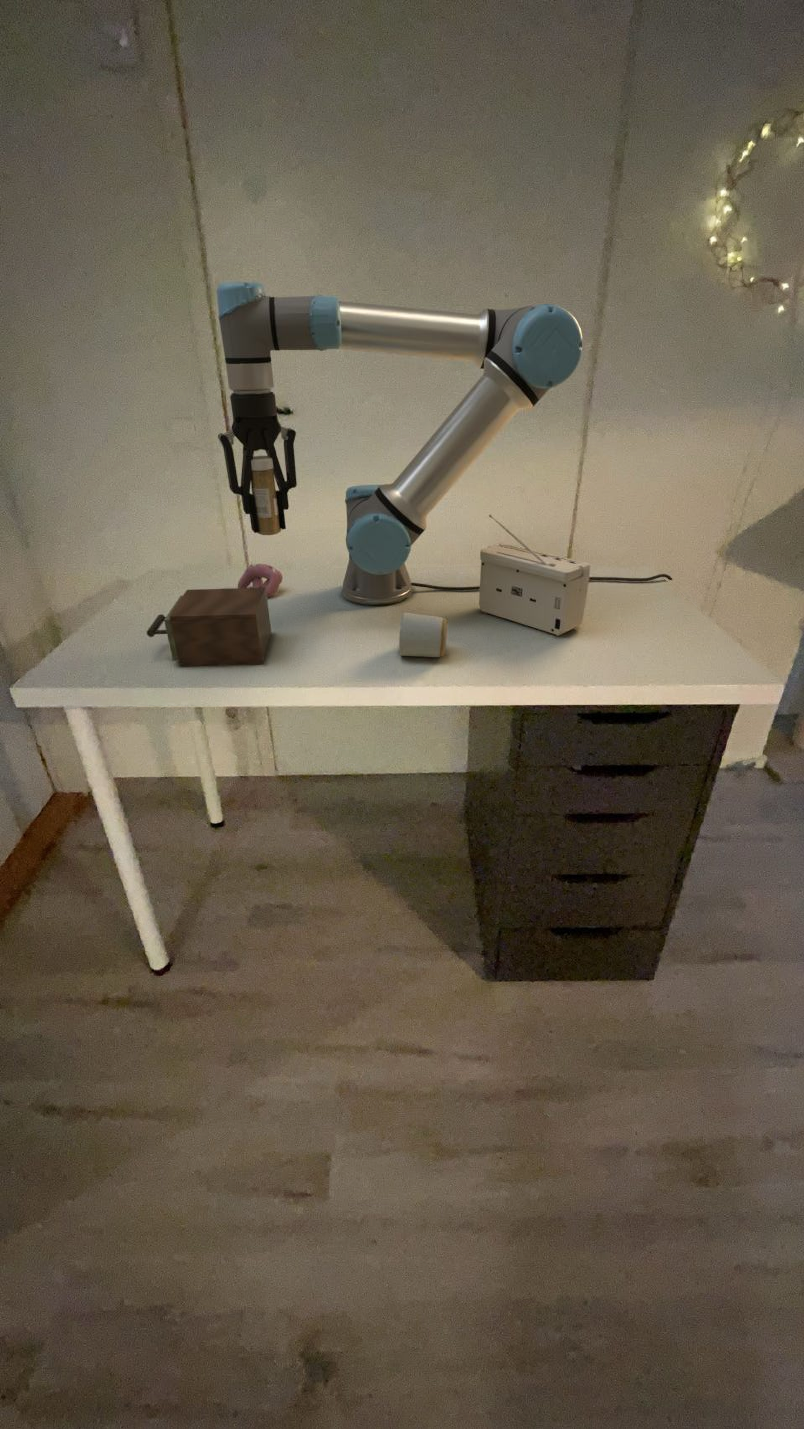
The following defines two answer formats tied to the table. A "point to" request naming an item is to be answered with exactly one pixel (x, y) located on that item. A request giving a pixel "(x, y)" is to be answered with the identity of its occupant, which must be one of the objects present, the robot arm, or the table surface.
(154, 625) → the drawer
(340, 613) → the table surface
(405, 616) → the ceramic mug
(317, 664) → the table surface
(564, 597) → the radio
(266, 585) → the pink curved ring
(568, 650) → the table surface
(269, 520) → the sprinkles bottle
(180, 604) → the cabinet
